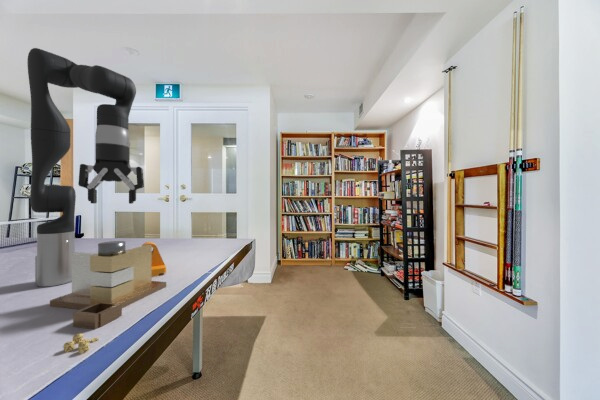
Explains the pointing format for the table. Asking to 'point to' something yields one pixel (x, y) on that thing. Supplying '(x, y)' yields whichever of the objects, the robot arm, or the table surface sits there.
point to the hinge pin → (111, 248)
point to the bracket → (156, 261)
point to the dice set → (79, 344)
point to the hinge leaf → (95, 274)
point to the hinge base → (112, 289)
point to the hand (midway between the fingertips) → (113, 203)
